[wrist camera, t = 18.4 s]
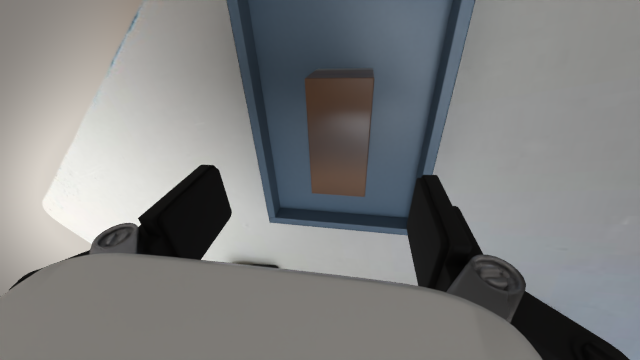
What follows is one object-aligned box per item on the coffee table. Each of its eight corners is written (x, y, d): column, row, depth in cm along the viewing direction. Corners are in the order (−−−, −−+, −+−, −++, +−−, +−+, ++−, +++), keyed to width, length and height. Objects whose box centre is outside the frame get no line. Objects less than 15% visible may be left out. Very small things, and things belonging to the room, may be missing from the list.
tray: (236, -28, 17) (219, -36, 15) (474, -50, 14) (491, -62, 12) (276, 209, 28) (269, 222, 26) (413, 220, 26) (417, 236, 24)
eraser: (316, 68, 19) (304, 78, 15) (373, 67, 18) (374, 77, 14) (320, 167, 24) (311, 193, 20) (365, 170, 23) (364, 197, 19)
